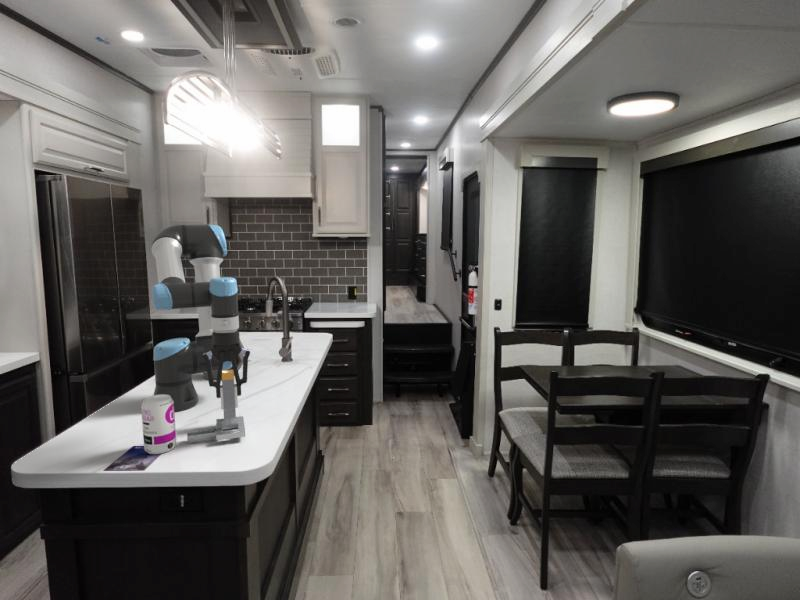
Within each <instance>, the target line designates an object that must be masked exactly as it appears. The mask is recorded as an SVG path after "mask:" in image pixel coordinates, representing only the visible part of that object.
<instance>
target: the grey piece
mask: <svg viewBox="0 0 800 600" xmlns="http://www.w3.org/2000/svg"><path fill="white" fill-rule="evenodd" d="M221 384H222V385H223V382H222V381H221ZM235 412H236V408H235ZM215 423H216V426H215V429H206V430H199V431H190V432H187V435H186V438H187V445H189V444H196V443H203V442H211V441H220V440H221V441H222V440H228V439H229V440H230V439H236V438H243V437H244V438H245V437H246V429H245V428H246V427H245V420H244V416H243V415H242V416H241V415H240V416H236V418H230V419H224V418H216V422H215Z"/></svg>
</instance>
